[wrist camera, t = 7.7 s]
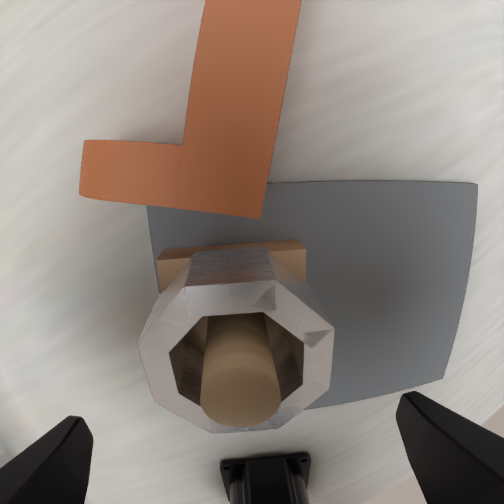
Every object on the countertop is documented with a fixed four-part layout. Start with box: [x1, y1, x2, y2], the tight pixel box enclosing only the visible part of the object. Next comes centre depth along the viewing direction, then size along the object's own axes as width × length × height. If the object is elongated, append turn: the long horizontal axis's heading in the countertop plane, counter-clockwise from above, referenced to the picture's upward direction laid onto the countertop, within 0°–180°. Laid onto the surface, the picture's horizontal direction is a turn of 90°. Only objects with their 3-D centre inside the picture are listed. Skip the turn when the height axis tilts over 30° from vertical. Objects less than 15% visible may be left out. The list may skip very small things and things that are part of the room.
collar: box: [137, 246, 335, 433], centre depth 12 cm, size 6×6×4 cm
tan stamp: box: [156, 240, 306, 428], centre depth 12 cm, size 6×6×6 cm
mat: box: [147, 180, 478, 410], centre depth 16 cm, size 13×17×1 cm
